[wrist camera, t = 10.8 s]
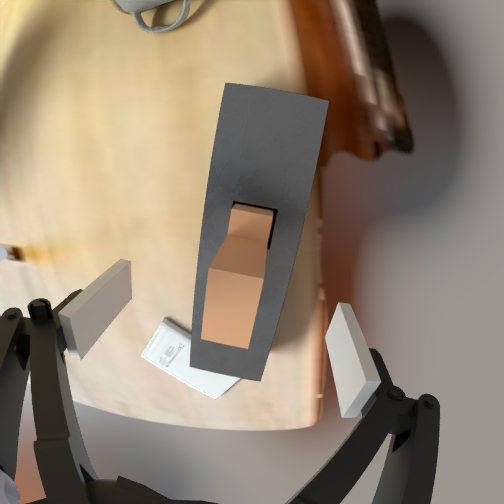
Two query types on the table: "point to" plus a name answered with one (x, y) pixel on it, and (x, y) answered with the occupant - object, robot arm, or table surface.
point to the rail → (258, 193)
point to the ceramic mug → (135, 3)
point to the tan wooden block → (237, 277)
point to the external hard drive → (183, 360)
